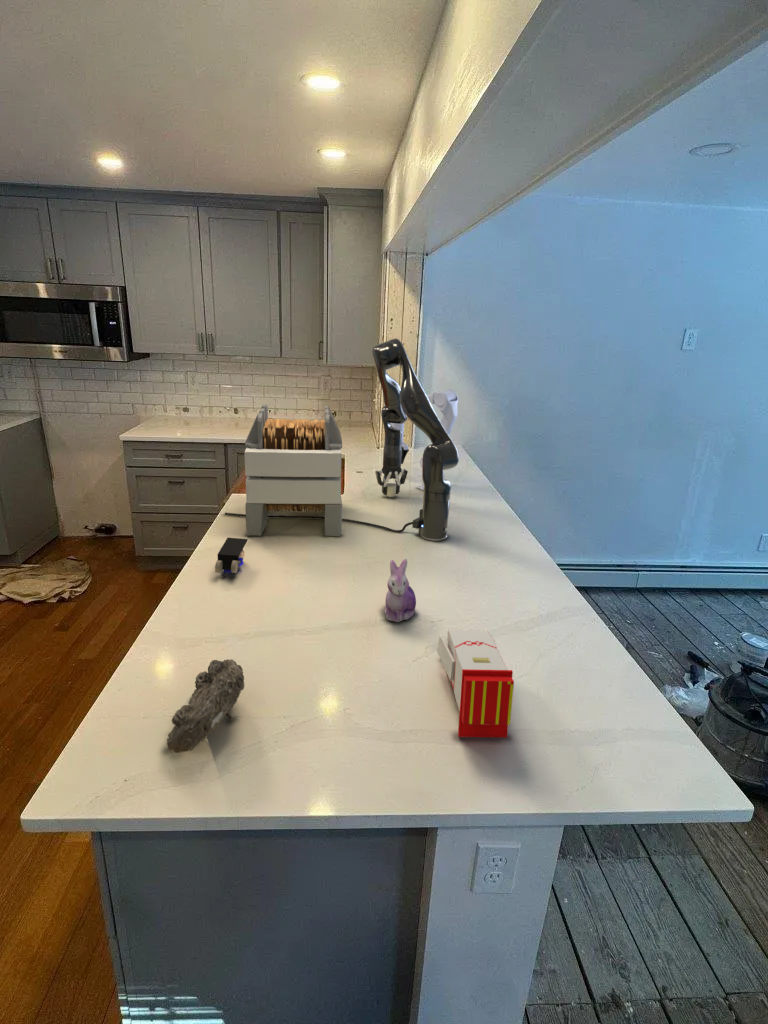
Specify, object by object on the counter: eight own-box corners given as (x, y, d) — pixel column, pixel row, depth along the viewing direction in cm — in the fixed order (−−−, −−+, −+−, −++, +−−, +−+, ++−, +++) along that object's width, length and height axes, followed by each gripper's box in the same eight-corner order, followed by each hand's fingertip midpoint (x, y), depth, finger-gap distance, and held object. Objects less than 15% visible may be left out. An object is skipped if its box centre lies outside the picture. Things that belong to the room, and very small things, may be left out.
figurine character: (238, 584, 162) (249, 557, 175) (236, 562, 158) (247, 536, 172) (215, 584, 161) (227, 556, 175) (212, 561, 158) (225, 535, 171)
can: (393, 492, 241) (393, 482, 240) (397, 496, 237) (398, 485, 236) (383, 493, 239) (383, 483, 238) (387, 497, 235) (388, 486, 234)
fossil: (192, 660, 117) (244, 628, 112) (224, 691, 120) (276, 661, 115) (142, 746, 98) (202, 712, 93) (182, 779, 101) (242, 748, 96)
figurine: (392, 627, 141) (395, 572, 136) (374, 608, 149) (376, 556, 144) (425, 619, 145) (429, 566, 140) (405, 601, 154) (408, 550, 149)
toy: (488, 613, 130) (523, 677, 101) (484, 667, 133) (517, 744, 104) (435, 612, 130) (455, 676, 101) (432, 666, 133) (451, 743, 103)
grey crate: (255, 503, 223) (251, 399, 209) (338, 504, 226) (340, 401, 213) (245, 536, 191) (239, 416, 177) (342, 536, 195) (344, 418, 181)
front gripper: (405, 451, 238) (403, 490, 244) (373, 453, 233) (371, 492, 239) (412, 456, 231) (409, 495, 237) (378, 457, 227) (377, 498, 232)
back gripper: (380, 430, 257) (379, 459, 262) (400, 436, 246) (398, 466, 251) (392, 428, 261) (391, 457, 266) (412, 435, 251) (411, 464, 255)
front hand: (390, 493), depth 238 cm, fingers closed on can, 4 cm apart
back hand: (395, 461), depth 259 cm, fingers open, 7 cm apart
